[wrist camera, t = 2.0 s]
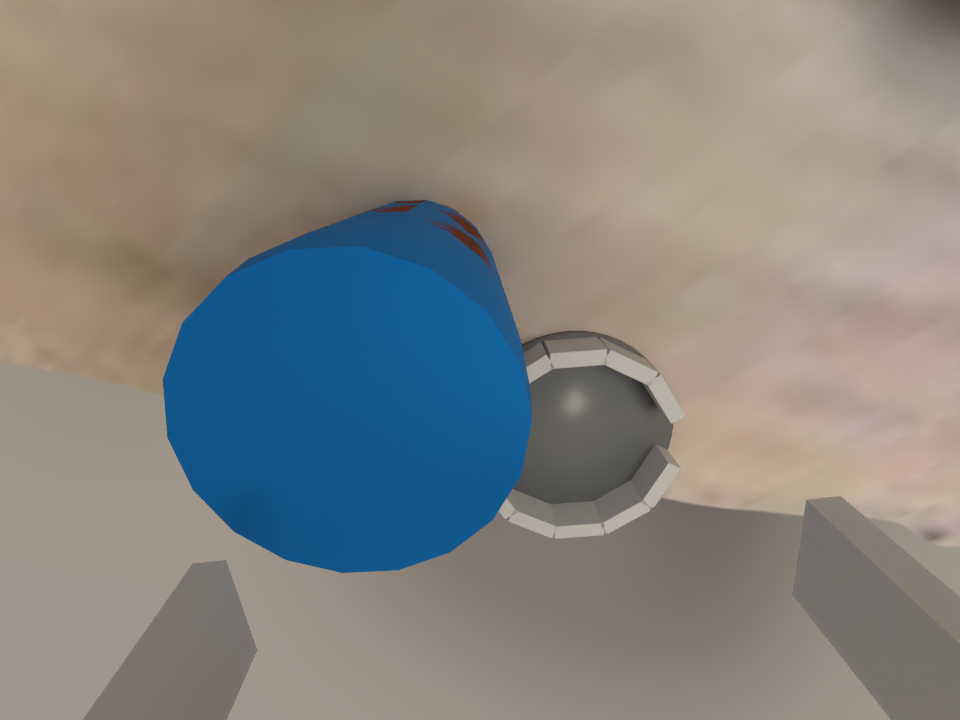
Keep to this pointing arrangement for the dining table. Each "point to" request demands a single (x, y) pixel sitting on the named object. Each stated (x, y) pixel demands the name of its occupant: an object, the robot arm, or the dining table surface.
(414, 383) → the thermos
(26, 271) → the dining table surface
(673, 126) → the dining table surface
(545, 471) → the bayonet base
